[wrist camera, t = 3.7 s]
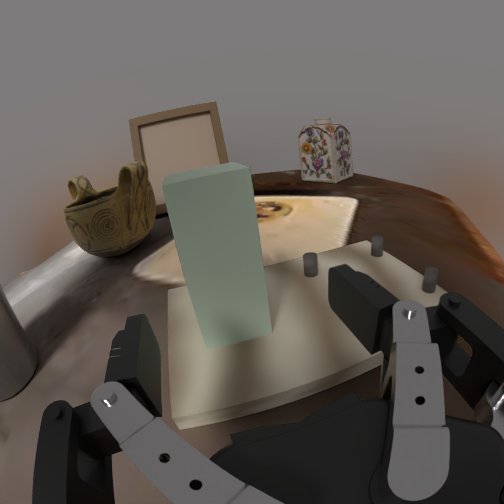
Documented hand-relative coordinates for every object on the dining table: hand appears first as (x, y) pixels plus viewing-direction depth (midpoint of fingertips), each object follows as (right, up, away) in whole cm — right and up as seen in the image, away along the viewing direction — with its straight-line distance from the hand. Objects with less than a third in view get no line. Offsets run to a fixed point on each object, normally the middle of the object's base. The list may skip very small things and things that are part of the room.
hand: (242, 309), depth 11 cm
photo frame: (-16, +14, +58) cm, 62 cm away
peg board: (+5, -3, +12) cm, 14 cm away
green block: (-1, -3, +11) cm, 11 cm away
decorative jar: (+23, +23, +66) cm, 73 cm away
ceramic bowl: (-23, +3, +35) cm, 42 cm away
